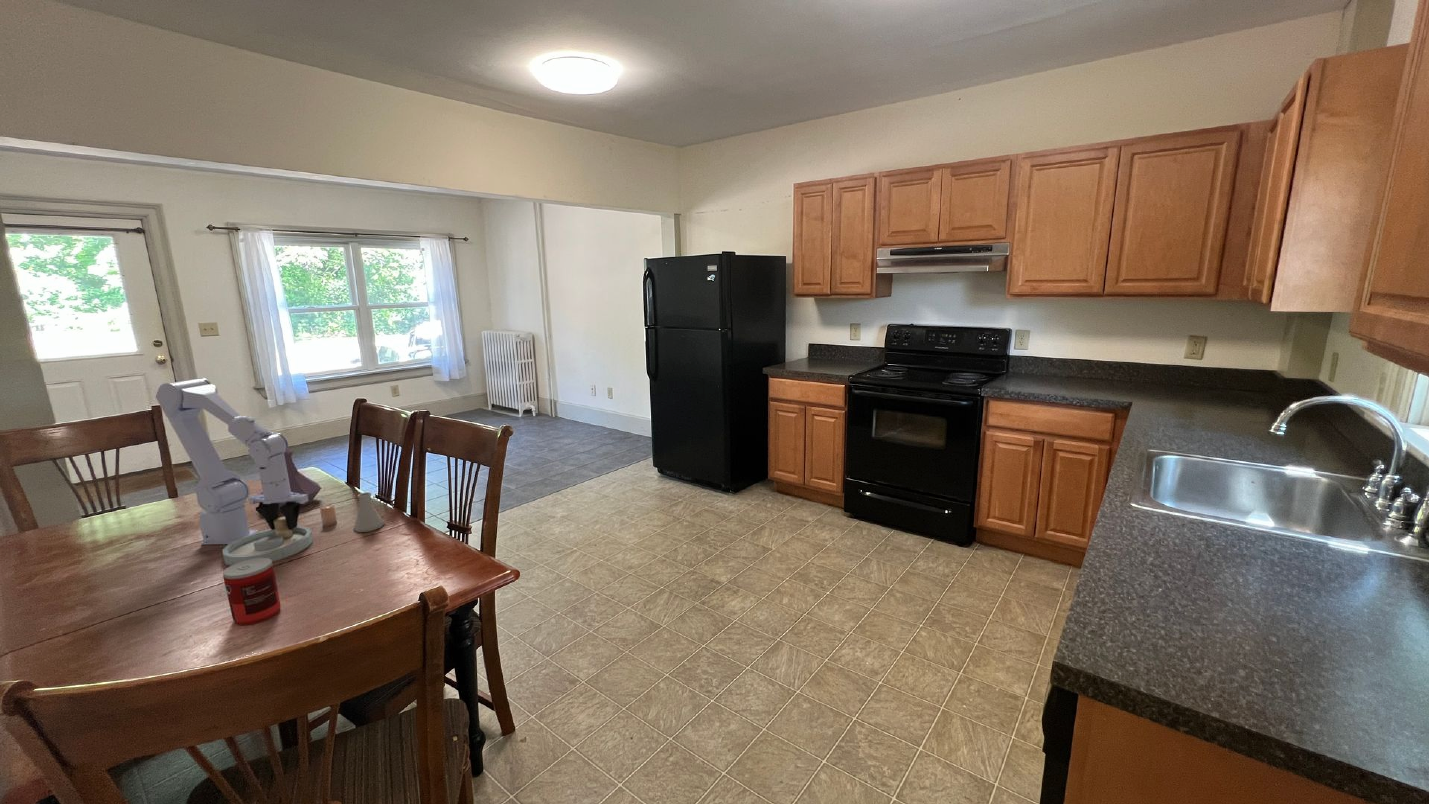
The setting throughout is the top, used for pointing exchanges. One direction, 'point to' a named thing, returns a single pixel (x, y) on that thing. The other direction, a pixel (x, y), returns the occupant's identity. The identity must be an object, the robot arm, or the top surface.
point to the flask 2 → (367, 515)
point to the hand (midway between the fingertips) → (284, 528)
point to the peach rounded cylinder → (328, 515)
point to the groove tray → (267, 545)
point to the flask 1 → (299, 481)
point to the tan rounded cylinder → (282, 528)
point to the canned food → (252, 591)
